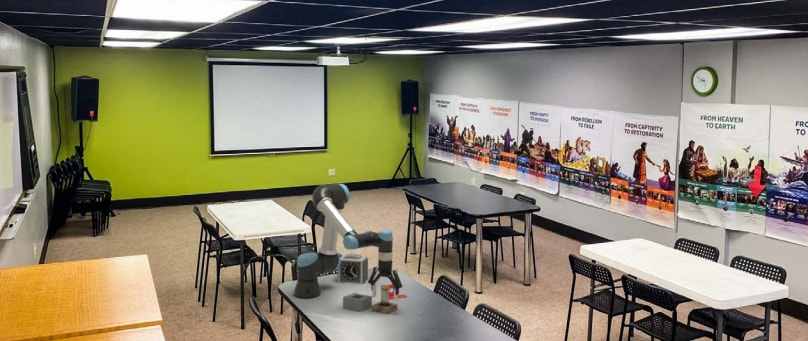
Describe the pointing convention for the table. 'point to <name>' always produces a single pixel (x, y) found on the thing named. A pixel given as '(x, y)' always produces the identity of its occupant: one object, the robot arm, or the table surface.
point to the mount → (384, 308)
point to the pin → (385, 295)
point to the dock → (357, 302)
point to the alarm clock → (353, 269)
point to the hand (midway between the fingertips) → (384, 298)
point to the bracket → (391, 295)
